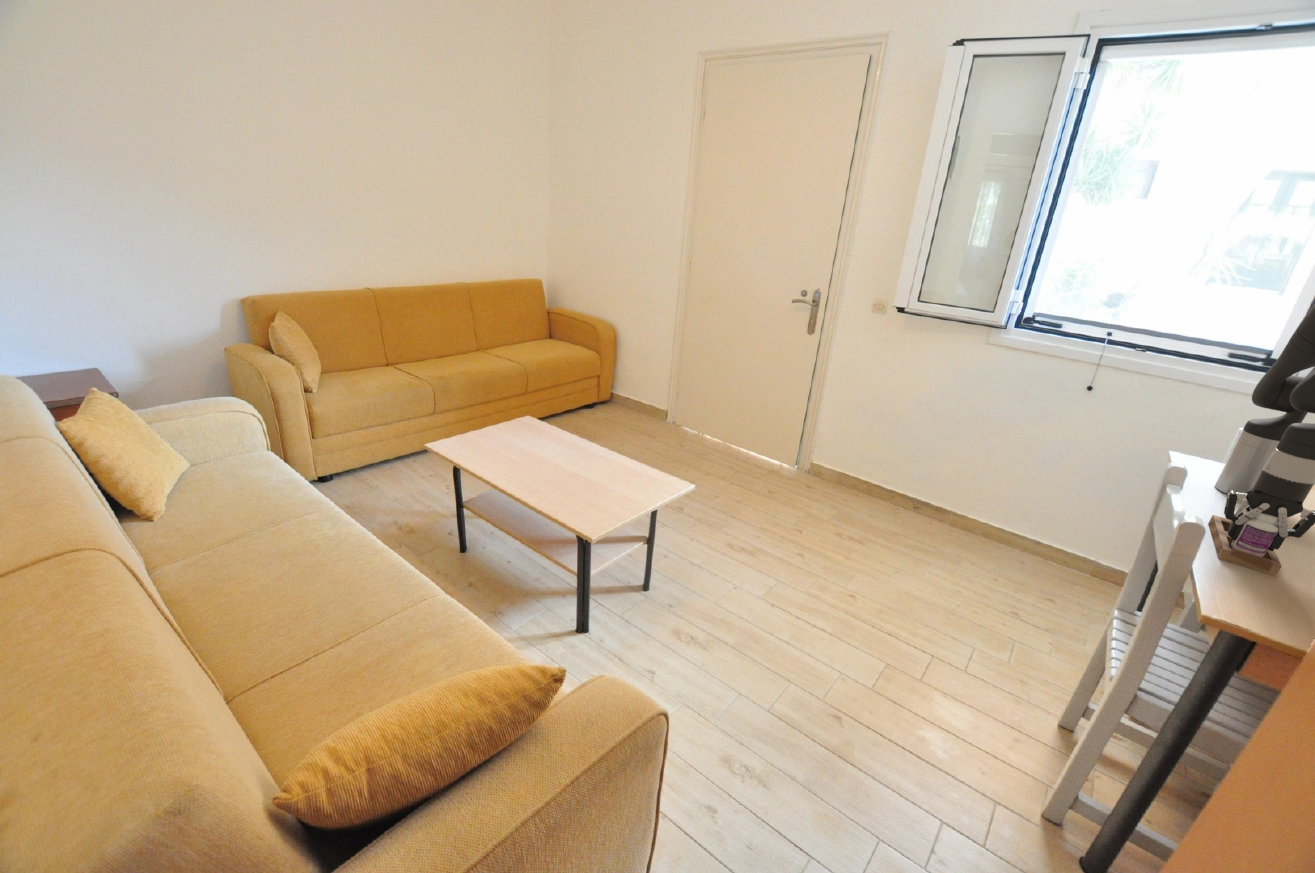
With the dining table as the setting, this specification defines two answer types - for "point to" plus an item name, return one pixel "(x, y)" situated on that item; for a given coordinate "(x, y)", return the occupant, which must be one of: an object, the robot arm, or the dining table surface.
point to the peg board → (1227, 553)
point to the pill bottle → (1256, 535)
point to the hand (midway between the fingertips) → (1250, 543)
